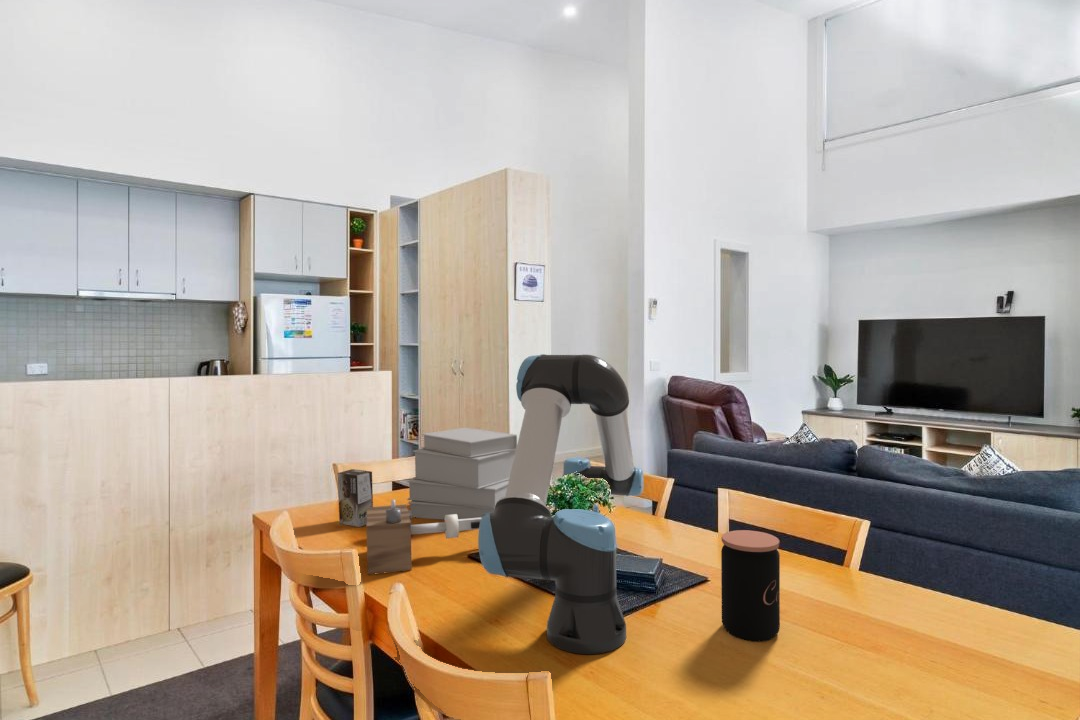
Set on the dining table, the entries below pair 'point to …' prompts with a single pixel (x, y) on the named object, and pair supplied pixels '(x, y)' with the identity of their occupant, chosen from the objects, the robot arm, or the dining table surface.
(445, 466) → the book stack
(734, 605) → the coffee jar
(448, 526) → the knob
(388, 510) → the potentiometer
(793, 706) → the dining table surface
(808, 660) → the dining table surface
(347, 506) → the coffee box
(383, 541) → the block
